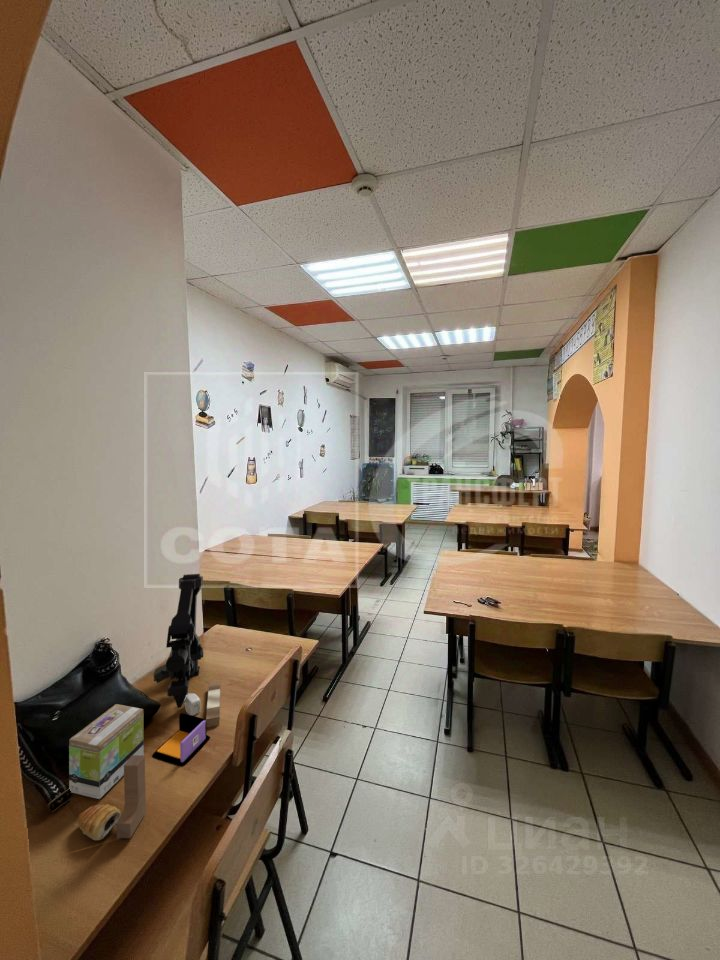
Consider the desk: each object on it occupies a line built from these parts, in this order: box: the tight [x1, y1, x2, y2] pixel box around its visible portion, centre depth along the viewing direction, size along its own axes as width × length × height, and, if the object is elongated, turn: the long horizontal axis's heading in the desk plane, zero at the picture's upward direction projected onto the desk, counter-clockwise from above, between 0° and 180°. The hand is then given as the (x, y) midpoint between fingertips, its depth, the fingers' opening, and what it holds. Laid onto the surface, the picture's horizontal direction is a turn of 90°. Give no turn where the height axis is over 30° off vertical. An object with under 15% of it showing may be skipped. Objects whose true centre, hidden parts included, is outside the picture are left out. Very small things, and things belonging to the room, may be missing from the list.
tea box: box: [68, 703, 145, 800], centre depth 104 cm, size 15×10×15 cm, turn 168°
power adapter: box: [183, 692, 201, 716], centre depth 131 cm, size 10×4×5 cm, turn 47°
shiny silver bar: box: [205, 681, 221, 729], centre depth 132 cm, size 20×4×3 cm, turn 19°
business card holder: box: [152, 712, 211, 767], centre depth 114 cm, size 12×12×7 cm
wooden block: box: [115, 755, 147, 839], centre depth 90 cm, size 7×3×15 cm, turn 0°
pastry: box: [76, 803, 122, 841], centre depth 90 cm, size 9×7×4 cm
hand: (181, 699), depth 134 cm, fingers open, 9 cm apart
